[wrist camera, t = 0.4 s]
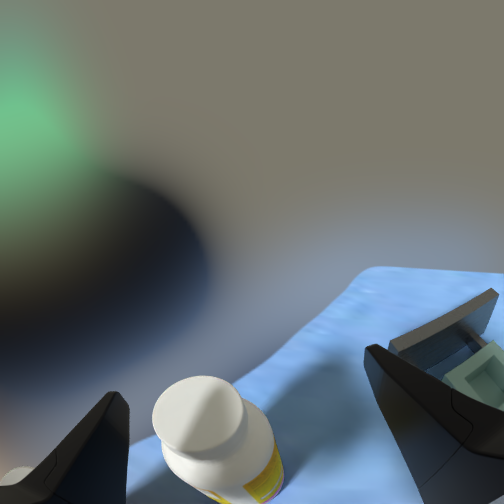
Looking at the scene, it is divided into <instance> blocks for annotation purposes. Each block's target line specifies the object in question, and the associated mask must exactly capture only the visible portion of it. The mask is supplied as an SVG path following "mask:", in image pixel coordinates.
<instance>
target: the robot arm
mask: <svg viewBox="0 0 504 504" xmlns="http://www.w3.org/2000/svg"><path fill="white" fill-rule="evenodd" d="M364 368H365V371H366V374H367V376H368V379H369V382H370V385H371V387H372V390H373V393H374V396H375V398H376V401H377V404H378V406H379V408H380V410H381V412H382V414H383V416H384V418H385V420H386V422H387V424H388V426H389V428H390V430H391V432H392V434H393V436H394V438H395V440H396V442H397V445H398V447H399V449H400V451H401V453H402V455H403V457H404V459H405V462H406V464H407V466H408V468H409V470H410V472H411V475H412V477H413V479H414V481H415V483H416V486H417V488H418V491H419V493H420V495H421V497H422V500H423V502H424V504H504V411H502V410H500V409H497V408H495V407H492V406H490V405H487V404H485V403H482V402H480V401H478V400H475V399H473V398H471V397H469V396H467V395H465V394H463V393H461V392H459V391H458V390H456V389H454V388H451V387H450V386H449V385H447V384H445V383H443V382H442V381H440V380H438V379H436V378H435V377H433V376H431V375H430V374H428V373H426V372H424V371H423V370H421V369H419V368H417V367H416V366H414V365H412V364H411V363H409V362H407V361H405V360H404V359H402V358H400V357H399V356H397V355H395V354H393V353H392V352H390V351H388V350H387V349H385V348H383V347H381V346H380V345H378V344H373V345H370V346H367V347H366V348H365V353H364ZM129 410H130V409H129V405H128V403H127V402H126V401H125V400H124V398H123V397H122V396H121V394H120V393H119V392H116V391H113V392H112V391H110V392H108V393H106V394H105V396H104V397H103V398H102V399H101V400H100V401H99V402H98V403H97V404H96V405H95V406H94V407H93V408H92V409H91V410H90V411H89V412H88V414H87V415H86V416H85V417H84V418H83V419H82V420H81V421H80V422H79V423H78V424H77V425H76V426H75V427H74V429H73V430H72V431H71V432H70V433H69V434H68V435H67V436H66V437H65V438H64V439H63V440H62V441H61V442H60V444H59V445H58V446H57V447H56V448H55V449H54V450H53V451H52V452H51V453H50V454H49V455H48V456H47V457H46V458H45V459H44V460H43V461H42V462H41V463H40V464H39V465H38V466H37V467H36V468H35V469H33V470H32V471H31V472H30V473H29V474H28V475H27V476H26V477H24V478H23V479H22V480H21V481H20V482H18V483H16V484H13V485H5V486H0V504H126V482H127V466H128V454H129V414H130V411H129Z"/></svg>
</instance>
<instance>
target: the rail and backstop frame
mask: <svg viewBox="0 0 504 504" xmlns="http://www.w3.org/2000/svg"><path fill="white" fill-rule="evenodd" d="M498 296H499V294H498V293H497V292H496V291H495V290H493V289H492V288H490V289H488V290H487V291H485V292H483V293H482V294H480V295H479V296H477V297H475V298H474V299H472V300H470V301H468V302H467V303H465V304H463V305H461V306H460V307H458V308H456V309H454V310H452V311H450V312H449V313H447V314H445V315H443V316H441V317H439V318H437V319H435V320H433V321H431V322H429V323H427V324H425V325H423V326H421V327H419V328H417V329H415V330H413V331H411V332H408V333H406V334H404V335H402V336H400V337H397V338H395V339H393V340H390V342H389V347H388V351H390V352H392V353H393V354H395V355H397V356H399V357H400V358H402V359H404V360H405V361H407V362H409V363H411V364H412V365H414V366H416V367H417V368H419V369H421V370H423V371H425V370H426V369H428V368H430V367H432V366H434V365H435V364H437V363H439V362H440V361H442V360H444V359H445V358H447V357H449V356H450V355H452V354H453V353H455V352H456V351H458V350H460V349H461V348H463V347H464V346H466V345H468V347H469V348H470V349H471V350H472V351H473V352H474V353H475V354H476V353H477V352H478V351H480V350H481V349H482V348H484V347H485V346H486V345H487V343H486V342H485V341H484V340H483V339H482V338H481V337H480V335H481V334H483V333H484V331H485V329H486V327H487V324H488V322H489V320H490V317H491V315H492V312H493V310H494V307H495V305H496V302H497V299H498Z"/></svg>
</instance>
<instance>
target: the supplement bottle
mask: <svg viewBox="0 0 504 504" xmlns="http://www.w3.org/2000/svg"><path fill="white" fill-rule="evenodd" d="M152 417H153V418H152V420H153V426H154V429H155V431H156V433H157V435H158V437H159V438H160V439H161V440H162V442H161V443H162V452H163V455H164V458H165V461H166V462H167V464H168V466H169V467H170V469H171V470H172V471H173V472H174V473H175V474H176V475H177V476H178V477H179V478H181V479H182V480H183V481H185V482H186V483H188V484H189V485H191V486H192V487H194V488H196V489H197V490H199V491H200V492H202V493H203V494H205V495H207V496H208V497H210V498H211V499H213V500H215V501H217V502H218V503H220V504H266V503H268V502H269V501H271V500H272V499H273V498H274V497H275V496H276V495H277V494H278V492H279V491H280V489H281V487H282V485H283V481H284V469H283V465H282V461H281V458H280V454H279V451H278V448H277V445H276V441H275V438H274V434H273V431H272V428H271V425H270V423H269V421H268V419H267V417H266V416H265V415H264V413H263V412H262V411H261V410H260V409H259V408H258V407H257V406H256V405H254V404H253V403H251V402H249V401H248V400H246V399H243V398H241V396H240V394H239V393H238V391H237V390H236V389H235V388H234V387H233V386H232V385H231V384H230V383H228V382H226V381H224V380H222V379H220V378H216V377H212V376H195V377H190V378H186V379H184V380H181V381H179V382H177V383H175V384H173V385H172V386H170V387H169V388H168V389H166V390H165V391H164V392H163V394H162V395H161V396H160V397H159V399H158V401H157V402H156V404H155V407H154V410H153V416H152Z"/></svg>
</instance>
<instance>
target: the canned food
mask: <svg viewBox="0 0 504 504" xmlns="http://www.w3.org/2000/svg"><path fill="white" fill-rule="evenodd" d="M33 469H35V468H33V467H27V466H24V467H18V468H15V469H13V470H11V471H10V472H8V473H7V474H6V475H5V476H4V477H3V479H2V480H1V482H0V486H5V485H13V484H16V483H18V482H20V481H21V480H22V479H23V478H24V477H26V476H27V475H28V474H29V473H30V472H31V471H32V470H33Z"/></svg>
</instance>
